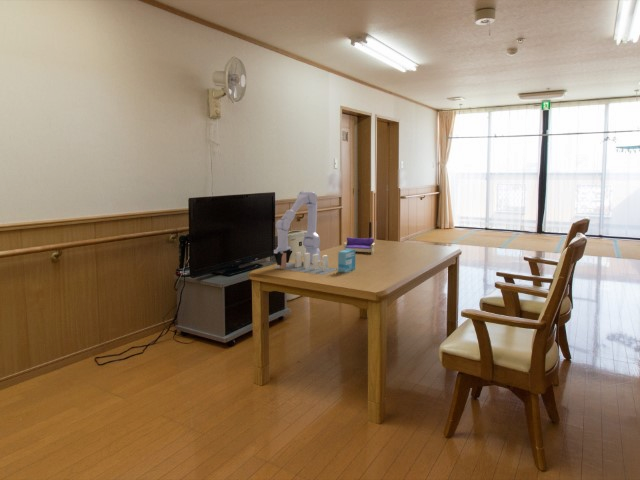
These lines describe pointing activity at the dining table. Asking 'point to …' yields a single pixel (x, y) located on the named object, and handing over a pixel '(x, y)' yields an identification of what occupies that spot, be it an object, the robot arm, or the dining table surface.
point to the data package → (346, 260)
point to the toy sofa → (360, 244)
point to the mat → (309, 270)
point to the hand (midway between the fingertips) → (282, 263)
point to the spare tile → (283, 261)
